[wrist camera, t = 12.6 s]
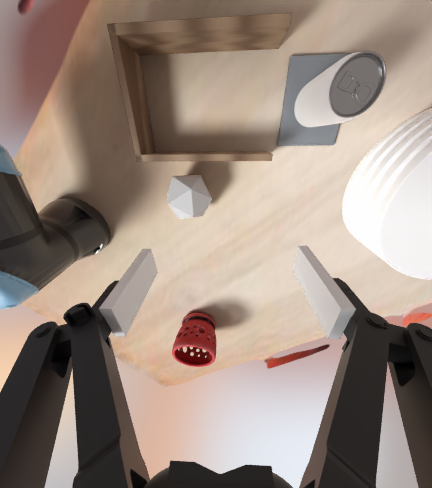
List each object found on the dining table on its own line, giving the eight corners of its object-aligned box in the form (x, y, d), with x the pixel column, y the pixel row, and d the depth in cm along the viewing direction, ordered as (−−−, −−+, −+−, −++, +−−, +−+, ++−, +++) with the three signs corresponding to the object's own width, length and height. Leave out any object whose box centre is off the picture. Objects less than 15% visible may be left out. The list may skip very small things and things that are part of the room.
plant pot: (173, 314, 62) (162, 350, 51) (206, 304, 58) (201, 340, 47) (193, 336, 67) (186, 371, 57) (224, 328, 63) (223, 365, 53)
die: (200, 162, 37) (158, 167, 30) (227, 193, 35) (189, 206, 29) (188, 191, 43) (151, 201, 37) (210, 219, 42) (176, 234, 35)
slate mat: (277, 145, 34) (277, 145, 33) (290, 57, 28) (291, 55, 27) (332, 145, 33) (333, 145, 33) (357, 54, 27) (360, 52, 26)
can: (315, 134, 32) (356, 132, 22) (285, 116, 31) (312, 105, 21) (343, 92, 29) (406, 66, 18) (310, 70, 28) (357, 29, 17)
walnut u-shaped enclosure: (151, 157, 36) (136, 161, 31) (131, 46, 28) (107, 23, 23) (265, 157, 35) (271, 160, 29) (279, 39, 27) (291, 12, 21)
